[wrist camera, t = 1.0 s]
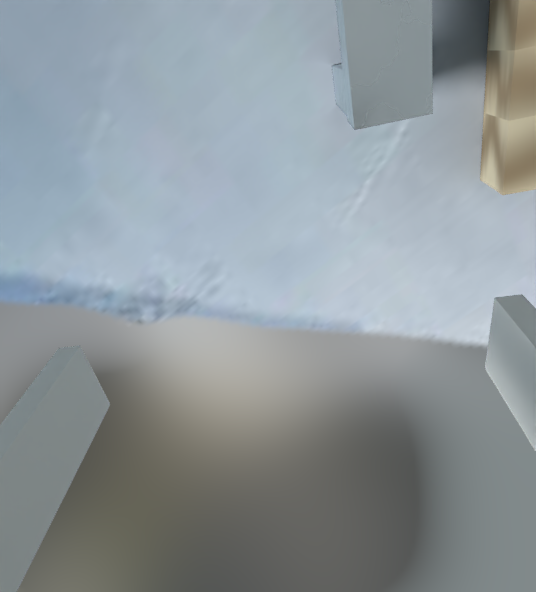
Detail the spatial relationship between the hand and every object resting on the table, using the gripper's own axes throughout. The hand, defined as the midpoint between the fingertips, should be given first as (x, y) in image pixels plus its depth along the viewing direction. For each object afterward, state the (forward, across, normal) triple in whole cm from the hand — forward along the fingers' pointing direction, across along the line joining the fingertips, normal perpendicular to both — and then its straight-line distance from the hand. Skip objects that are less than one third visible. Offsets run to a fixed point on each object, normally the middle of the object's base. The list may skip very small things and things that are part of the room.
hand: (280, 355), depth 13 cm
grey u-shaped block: (+23, +6, +10) cm, 26 cm away
